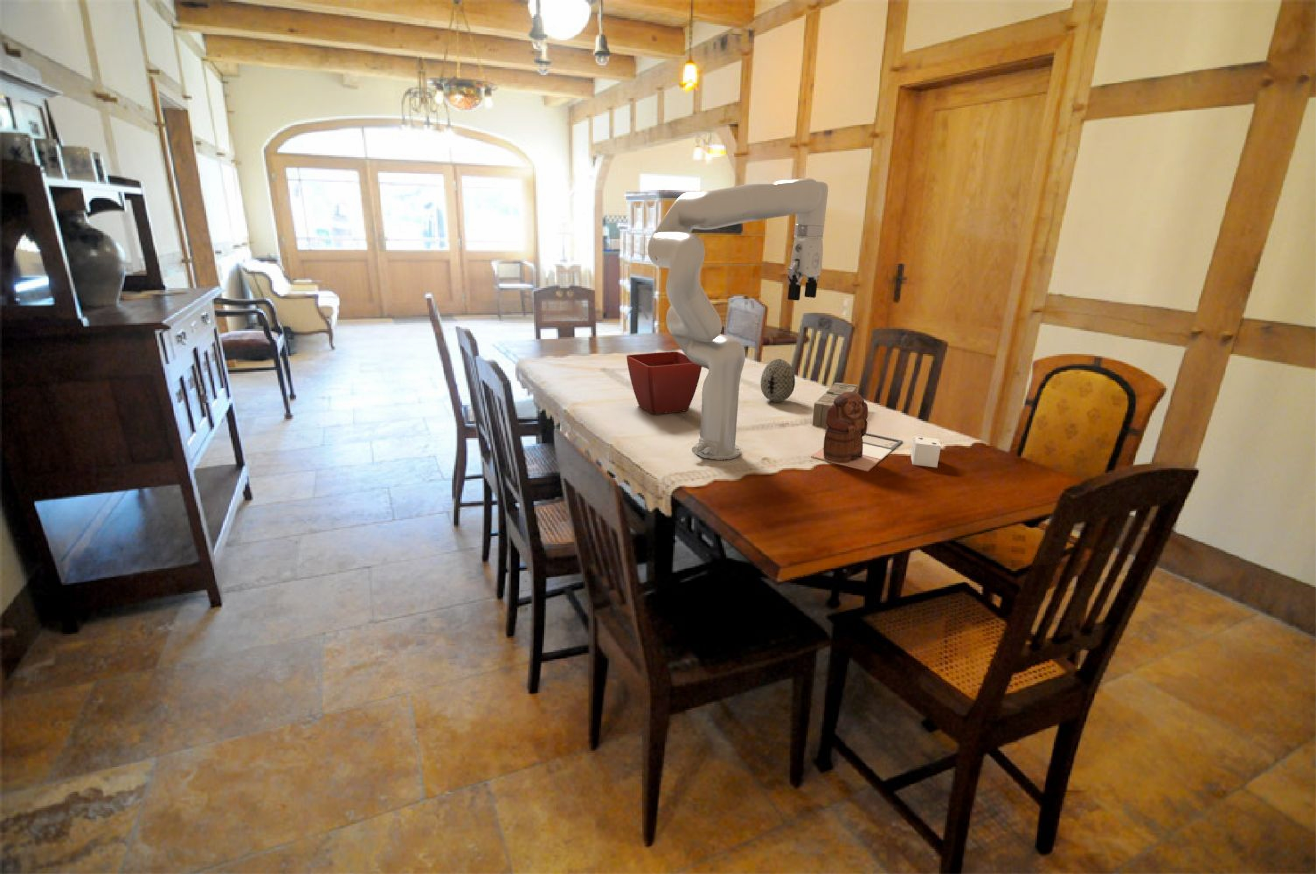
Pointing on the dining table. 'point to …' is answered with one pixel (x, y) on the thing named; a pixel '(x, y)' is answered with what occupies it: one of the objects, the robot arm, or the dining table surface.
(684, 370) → the plant pot
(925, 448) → the die
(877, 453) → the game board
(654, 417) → the dining table surface
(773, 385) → the decorative egg
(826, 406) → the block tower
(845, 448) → the wooden figurine
